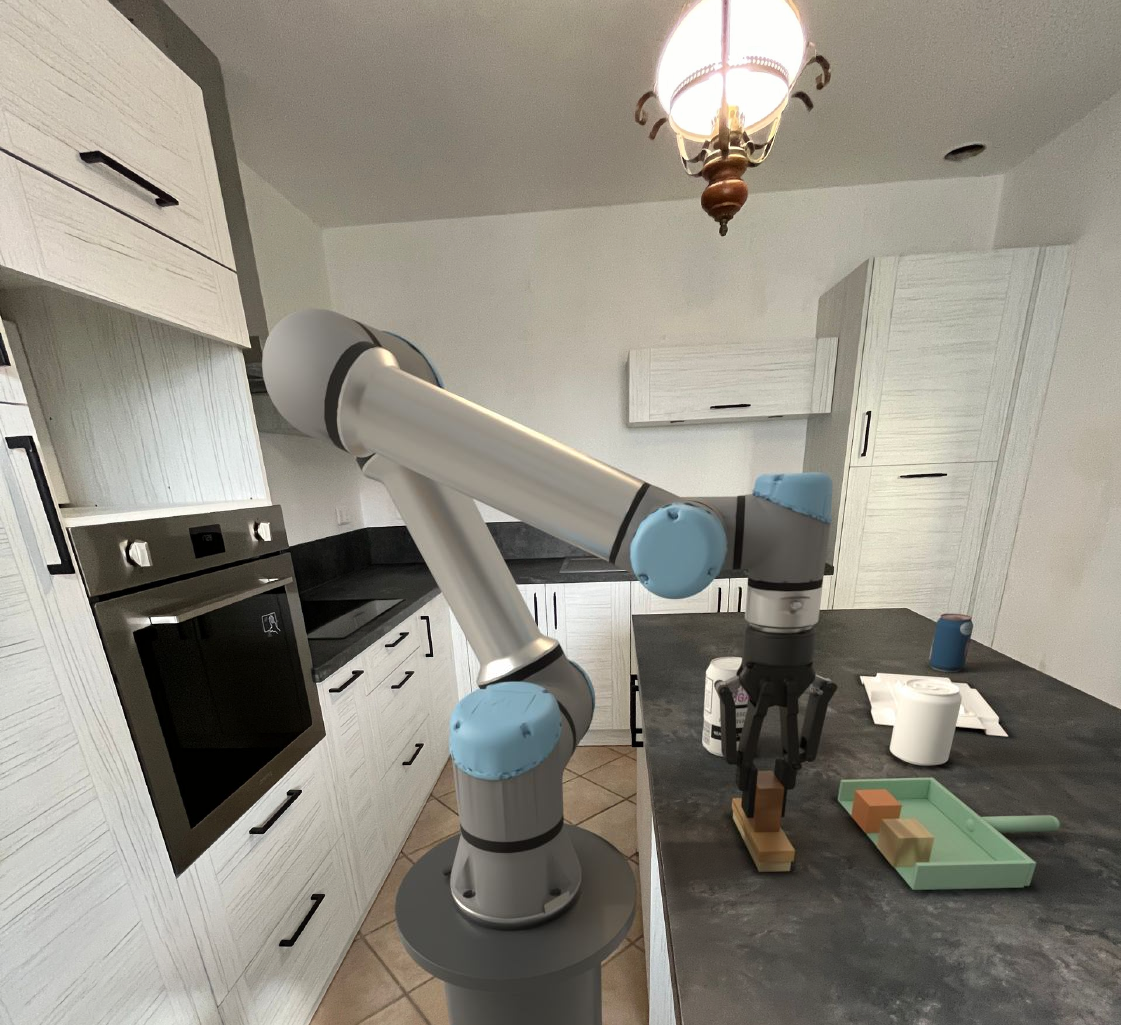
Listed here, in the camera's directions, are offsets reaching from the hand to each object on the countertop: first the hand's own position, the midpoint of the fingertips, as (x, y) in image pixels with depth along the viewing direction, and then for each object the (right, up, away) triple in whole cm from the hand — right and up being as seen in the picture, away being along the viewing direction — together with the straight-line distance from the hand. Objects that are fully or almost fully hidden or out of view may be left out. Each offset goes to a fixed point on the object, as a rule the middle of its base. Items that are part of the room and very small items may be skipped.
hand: (762, 811), depth 72 cm
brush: (0, -4, +2) cm, 5 cm away
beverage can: (+32, +4, +22) cm, 39 cm away
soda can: (+63, +21, +61) cm, 90 cm away
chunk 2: (+14, -3, -3) cm, 14 cm away
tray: (+46, +13, +43) cm, 64 cm away
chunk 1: (+14, -1, +3) cm, 14 cm away
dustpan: (+25, -3, +1) cm, 26 cm away
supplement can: (+3, +5, +27) cm, 28 cm away
